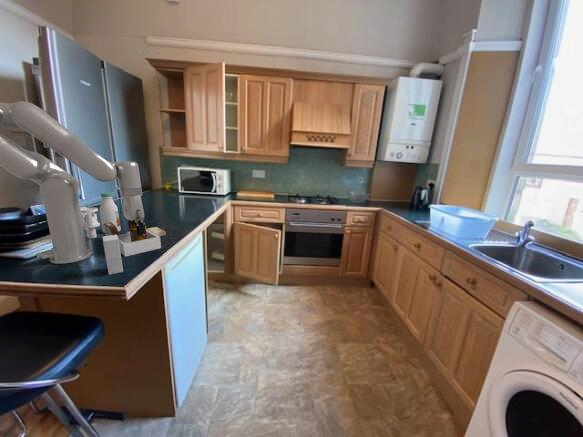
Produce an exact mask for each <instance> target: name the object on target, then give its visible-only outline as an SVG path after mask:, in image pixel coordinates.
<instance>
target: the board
mask: <svg viewBox="0 0 583 437" xmlns="http://www.w3.org/2000/svg"><path fill="white" fill-rule="evenodd" d="M146 230H148V231H150V232H151V233H153V234H155V235H157V236H159V237H162V236H163V237H164V236H166V234H167V233H166V231H165V230H163V229H161V228H160V227H158V226H154V227H149V228H147V227H146ZM129 233H130V231H126V234H129Z"/></svg>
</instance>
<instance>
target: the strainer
mask: <svg viewBox="0 0 583 437" xmlns="http://www.w3.org/2000/svg"><path fill="white" fill-rule="evenodd" d="M80 211H81V216H82V222H83V228H84V229H87V235H88V239H95V238H97V237H98V236H97V231H96V228H97V227H100V226H101V222H99V221H98V216H97V213H95V212H98V211H99V208H98V207H86V206H80Z"/></svg>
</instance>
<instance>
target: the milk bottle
mask: <svg viewBox="0 0 583 437" xmlns="http://www.w3.org/2000/svg"><path fill="white" fill-rule="evenodd" d="M100 196H101V199H102V200H101V204H100V205H99V218H100V225H101V229H102V233H103V234H106V233H105V228H104V223H109V222H111V223H113V224H114V225H115V226H116V227H117V230H118V232H121V229H122V228H121V222H120V221H121V220H120V215H119V210H118V206H117V205H116V203H115V201H114V199H113V193H112V192H102V193H100Z"/></svg>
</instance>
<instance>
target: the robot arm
mask: <svg viewBox="0 0 583 437" xmlns="http://www.w3.org/2000/svg"><path fill="white" fill-rule="evenodd" d="M0 129H6V130H7V129H9V130H19V131H25V132H26V133H28V134H30V135H32V137H34V138H36V139H37V140H38V141H40V142H41V143H43V144H45V146H47V147H49V148H50V149H51V150H53V151H55V152H56V153H57V154H59V156H61V157H63V158H64V159H66V160H67V161H69V162H70V163H72V164H73V165H74V166H76V167H77V168H78V169H81V171H83V172H85V173H86V174H87V175H89V177H92V178H93V179H95V180H96V181H98V182H102V183H110V182H111V181H113V180H118V185H119V186H118V187H119V192H120V198H121V197H122V205H123V215H124V218H125V219H126V220H127V224H128V230H129V231H130V227H131V226H130V221H133V220H135V222H136V225H137V226H136V231H137V235H143V234H146V230H145V226H146V223H145V220H144V219H145V211H144V206H143V201H142V196H143V189H142V182H141V175H140V168H139V164H138V162H135V161H118V162H117V161H107V160H106V159H105V158H104V157H103V156H101V155H99V154H98V153H97V152H95V150H93V149H91V147H89V146H88V145H87V144H86V143H84V142H83V141H82V139H80V138H79V137H78V136H77V135H76V134H75V133H73V132H72V131H71V130H70V129H68V128H67V127H65V126H64V125H63V124H61V123H60V122H59V121H57V120H56V119H55V118H53V117H52V116H51V115H50V114H48V113H47V112H45V111H44V110H43V109H42V108H41V107H39V106H37V105H36V104H34V103H32V102H29V101H23V100H20V101H15V102H13V103H8V102H0ZM0 167H1V168H2V169H3V170H6V171H7V172H8V173H10V174H11V175H13V176H14V177H16V178H18V179H22V180H30V181H31V182H33V183H34V184H36V185H38V186H39V194H40V197H41V201H42V203H43V204H42V205H43V207H44V210H45V211H44V212H45V216H46V220H47V224H48V225H47V226H48V229H49V234H50V239H51V244H52V247H50V248H51V249H49V250H48V251H45V252H38V253H36V259H43V260H44V259H48V258H49V262H50V263H52V264H54V265H55V264H56V265H61V264H69V263H77V262H79V261H84V260H86V259H89V258H91V257H92V256H93V254H94V252H93V250H92V249H89V248H88V246H87V241H86V240H87V239H86V234H85V228H83V222H82V216H83V215H81V211H80V207H81V206H80V202H79V198H78V197H79V196H78V191H79V190H80V185H79V182H78V180H77V179H76V178H75V177H74V175H72V174H70V173H69V172H68V171H66V170H65V169H63V168H62V167H60V166H59V165H58V164H56V163H55V162H53V161H52V160H50V159H49V158H47V157H46V156H45V155H43V154H40V153H38V152H35V151H31V150H27V149H25V148H24V147H22V146H21V145H19V144H18V143H17V142H14V141H13V140H12V139H11V138H9V137H8V136H6V135H5V134H4V133H1V132H0Z"/></svg>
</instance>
